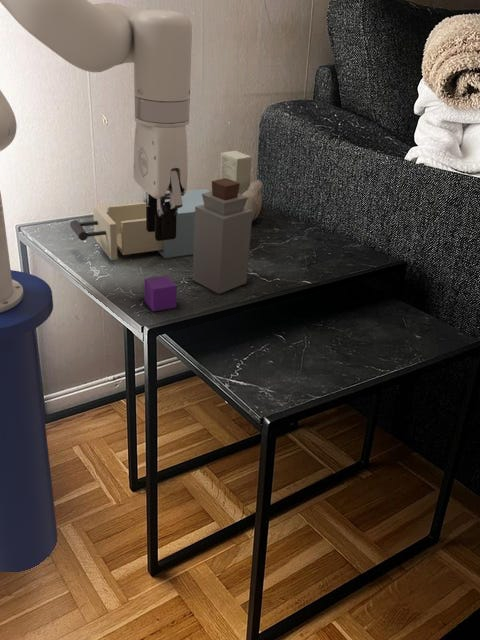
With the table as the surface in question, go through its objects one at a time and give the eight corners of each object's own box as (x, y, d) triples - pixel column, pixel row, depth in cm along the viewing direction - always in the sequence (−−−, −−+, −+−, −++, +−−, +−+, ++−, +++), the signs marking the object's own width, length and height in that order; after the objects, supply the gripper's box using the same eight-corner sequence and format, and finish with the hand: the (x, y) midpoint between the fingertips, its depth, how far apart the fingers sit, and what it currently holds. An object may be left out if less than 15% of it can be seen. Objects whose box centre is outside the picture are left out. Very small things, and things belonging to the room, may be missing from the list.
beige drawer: (83, 263, 108) (81, 227, 105) (68, 241, 116) (66, 207, 112) (175, 251, 116) (176, 217, 112) (155, 231, 123) (155, 198, 120)
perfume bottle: (246, 283, 108) (255, 184, 99) (218, 293, 104) (225, 191, 95) (220, 269, 112) (226, 173, 103) (192, 279, 108) (196, 180, 99)
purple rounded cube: (153, 311, 97) (153, 289, 95) (144, 300, 100) (144, 278, 98) (176, 307, 99) (177, 285, 97) (167, 296, 102) (167, 274, 100)
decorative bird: (222, 232, 128) (224, 198, 124) (244, 209, 141) (247, 177, 137) (247, 237, 127) (250, 202, 123) (266, 213, 140) (270, 181, 136)
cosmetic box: (249, 209, 141) (253, 156, 135) (233, 212, 139) (237, 159, 133) (232, 200, 146) (235, 149, 139) (217, 203, 143) (220, 151, 137)
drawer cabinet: (164, 258, 115) (165, 215, 110) (143, 235, 123) (142, 194, 119) (228, 249, 121) (231, 207, 116) (204, 228, 129) (206, 188, 125)
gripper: (117, 99, 89) (120, 219, 98) (158, 125, 76) (157, 259, 86) (165, 98, 92) (164, 214, 101) (212, 123, 80) (205, 252, 89)
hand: (161, 233), depth 93 cm, fingers closed
